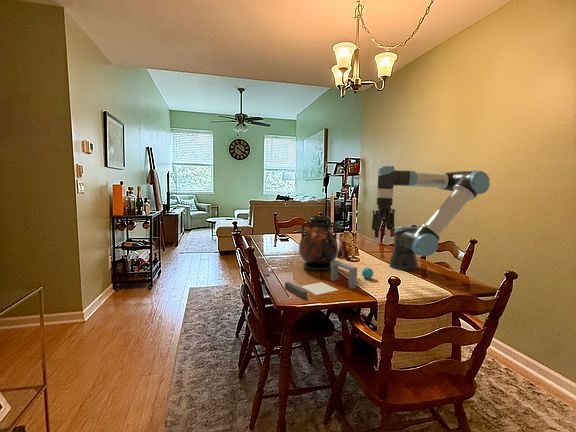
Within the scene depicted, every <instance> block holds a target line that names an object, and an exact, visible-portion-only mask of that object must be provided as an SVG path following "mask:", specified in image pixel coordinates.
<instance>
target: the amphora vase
mask: <svg viewBox="0 0 576 432" xmlns="http://www.w3.org/2000/svg"><path fill="white" fill-rule="evenodd" d="M307 220H308V221H304V222H303V223H302V224H301V236H300V238H301V239H300V240H299V241H300V242H299V245H298V253H299V256H300V258H301V259H302V260H303V264H302V266H303V268H304V269H306V270H309V271H313V272H326V271H331V261H335V260H336V259H337V255H338V251H339V242H338V240H337V239H338V237H337V236H338V228H337V225H336V223H335V222H331V221H332V218H331V217H330V216H324V215H312V216H308V217H307ZM309 221H310V222H309ZM329 221H330V222H329ZM328 222H329V223H328ZM305 225H308V226H309V229H308V230H307V231H306V232H305V230H304V228H305ZM331 225H332V226H333V228H334V234H333V233H332V231H331V230H330V229H329V228H330V226H331Z"/></svg>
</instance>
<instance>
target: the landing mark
mask: <svg viewBox="0 0 576 432" xmlns="http://www.w3.org/2000/svg"><path fill="white" fill-rule="evenodd" d="M299 288H301V289H303V290H305V291H307V292H310V293H311V294H314V296H319V295H324V294H328V293H333V292H337V291H339V289H337V288H336V287H334V286H331V285H329V284H327V283H324V282H321V281H320V282H314V283H311V284H306V285H300V287H299Z"/></svg>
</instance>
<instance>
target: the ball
mask: <svg viewBox="0 0 576 432" xmlns="http://www.w3.org/2000/svg"><path fill="white" fill-rule="evenodd" d="M361 274H362V277H363V278H364V279H367V280H368V279H369V280H370V279H371V278H373V276H374V271H373V269H372V268H371V267H368V266H367V267H364V268H363V269H362V270H361Z"/></svg>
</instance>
